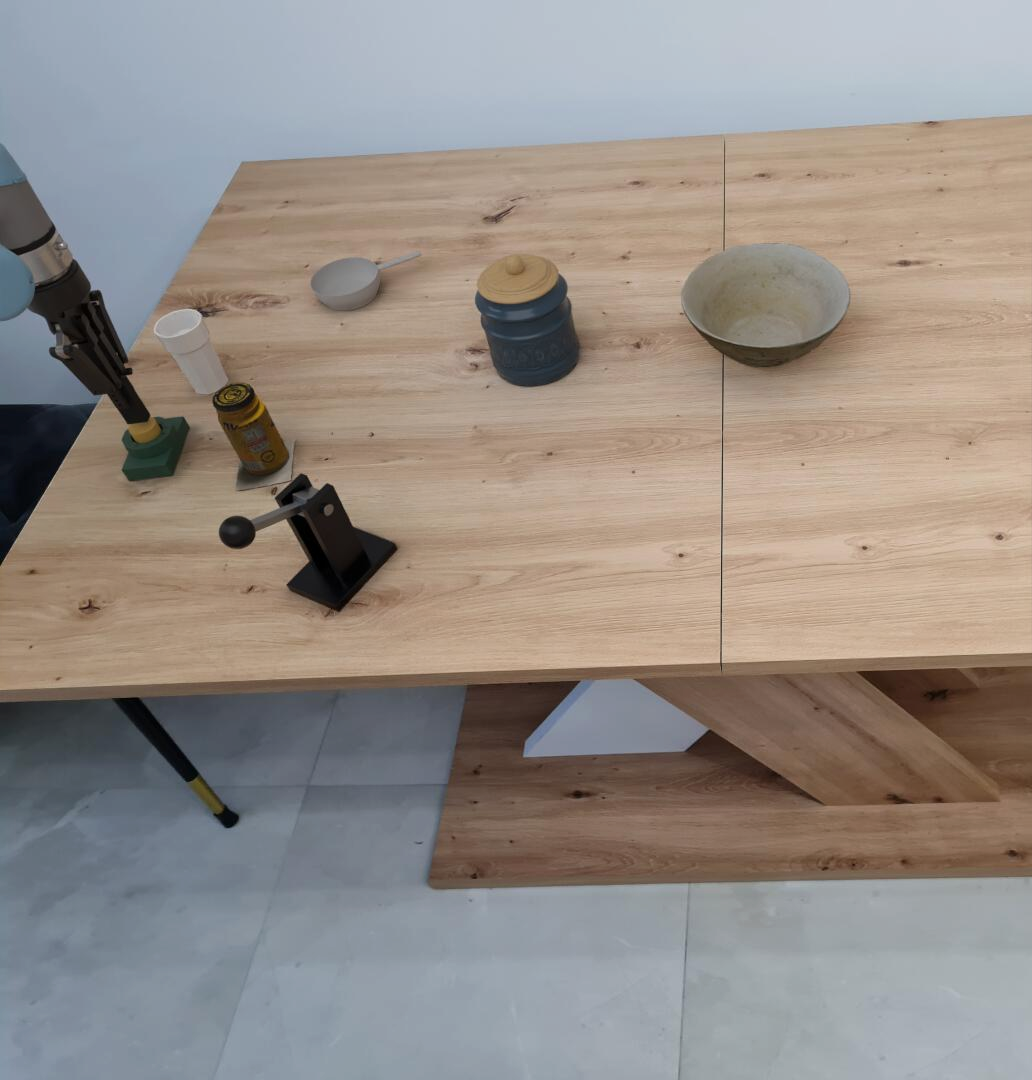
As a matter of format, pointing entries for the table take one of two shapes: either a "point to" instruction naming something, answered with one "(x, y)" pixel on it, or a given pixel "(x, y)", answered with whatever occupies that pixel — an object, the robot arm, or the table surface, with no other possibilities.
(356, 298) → the saucepan
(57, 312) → the robot arm
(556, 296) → the canister
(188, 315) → the cup
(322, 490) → the lever base
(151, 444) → the control block
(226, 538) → the ball lever handle
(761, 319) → the bowl
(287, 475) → the condiment
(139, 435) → the button
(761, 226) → the table surface
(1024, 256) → the table surface
